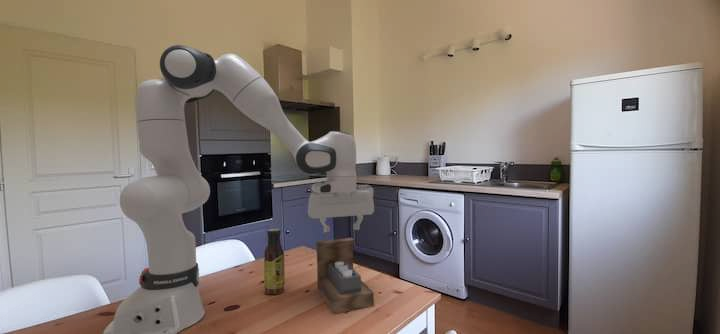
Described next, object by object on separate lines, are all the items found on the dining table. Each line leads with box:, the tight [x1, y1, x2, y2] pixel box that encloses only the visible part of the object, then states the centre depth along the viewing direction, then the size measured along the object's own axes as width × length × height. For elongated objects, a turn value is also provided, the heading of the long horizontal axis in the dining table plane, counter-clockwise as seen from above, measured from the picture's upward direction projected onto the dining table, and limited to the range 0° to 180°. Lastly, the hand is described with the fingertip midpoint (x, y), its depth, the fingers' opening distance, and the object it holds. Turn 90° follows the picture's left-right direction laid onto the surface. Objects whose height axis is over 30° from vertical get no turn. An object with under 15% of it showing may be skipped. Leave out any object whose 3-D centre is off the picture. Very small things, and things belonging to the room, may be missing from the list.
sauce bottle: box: [263, 228, 286, 295], centre depth 104 cm, size 7×6×20 cm
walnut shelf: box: [316, 237, 375, 315], centre depth 99 cm, size 12×18×16 cm, turn 21°
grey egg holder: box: [328, 261, 362, 295], centre depth 99 cm, size 6×14×5 cm, turn 21°
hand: (341, 230), depth 98 cm, fingers open, 8 cm apart
